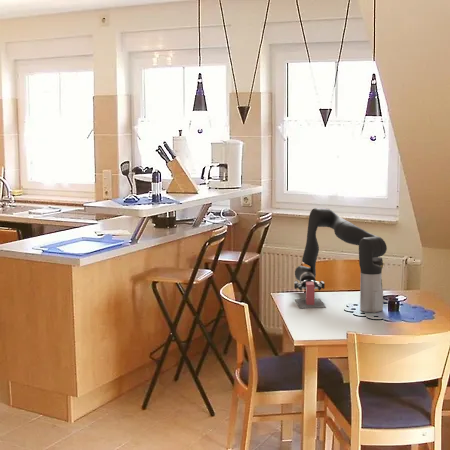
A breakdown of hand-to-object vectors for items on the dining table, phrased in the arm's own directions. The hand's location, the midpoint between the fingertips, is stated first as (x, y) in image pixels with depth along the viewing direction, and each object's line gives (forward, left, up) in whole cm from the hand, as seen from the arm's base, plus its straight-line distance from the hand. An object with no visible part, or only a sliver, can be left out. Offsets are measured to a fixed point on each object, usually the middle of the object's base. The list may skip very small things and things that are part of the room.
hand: (310, 288), depth 356 cm
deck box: (+1, -1, -7) cm, 7 cm away
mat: (+1, -1, -8) cm, 8 cm away
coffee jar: (-8, -37, -8) cm, 38 cm away
